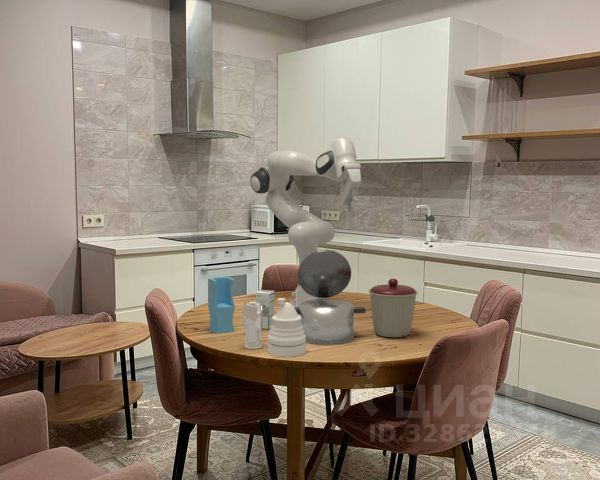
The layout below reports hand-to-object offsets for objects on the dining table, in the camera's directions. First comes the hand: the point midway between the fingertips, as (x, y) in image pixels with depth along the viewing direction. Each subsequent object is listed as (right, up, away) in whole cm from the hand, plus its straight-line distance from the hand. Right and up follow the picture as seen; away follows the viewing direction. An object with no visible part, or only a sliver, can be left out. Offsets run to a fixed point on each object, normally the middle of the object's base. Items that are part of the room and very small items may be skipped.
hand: (352, 206), depth 228 cm
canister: (+14, -48, -8) cm, 51 cm away
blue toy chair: (-50, -48, -3) cm, 70 cm away
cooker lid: (-11, -26, -8) cm, 30 cm away
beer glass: (-37, -50, -25) cm, 67 cm away
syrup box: (-34, -47, +1) cm, 58 cm away
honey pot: (-25, -51, -30) cm, 64 cm away
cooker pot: (-11, -49, -13) cm, 51 cm away
